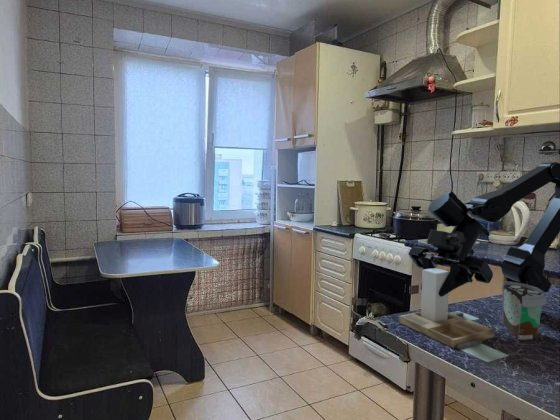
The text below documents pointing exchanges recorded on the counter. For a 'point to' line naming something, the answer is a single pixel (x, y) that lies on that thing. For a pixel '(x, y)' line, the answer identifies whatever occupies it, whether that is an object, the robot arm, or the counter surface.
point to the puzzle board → (456, 333)
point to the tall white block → (434, 295)
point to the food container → (522, 309)
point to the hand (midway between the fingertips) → (430, 292)
